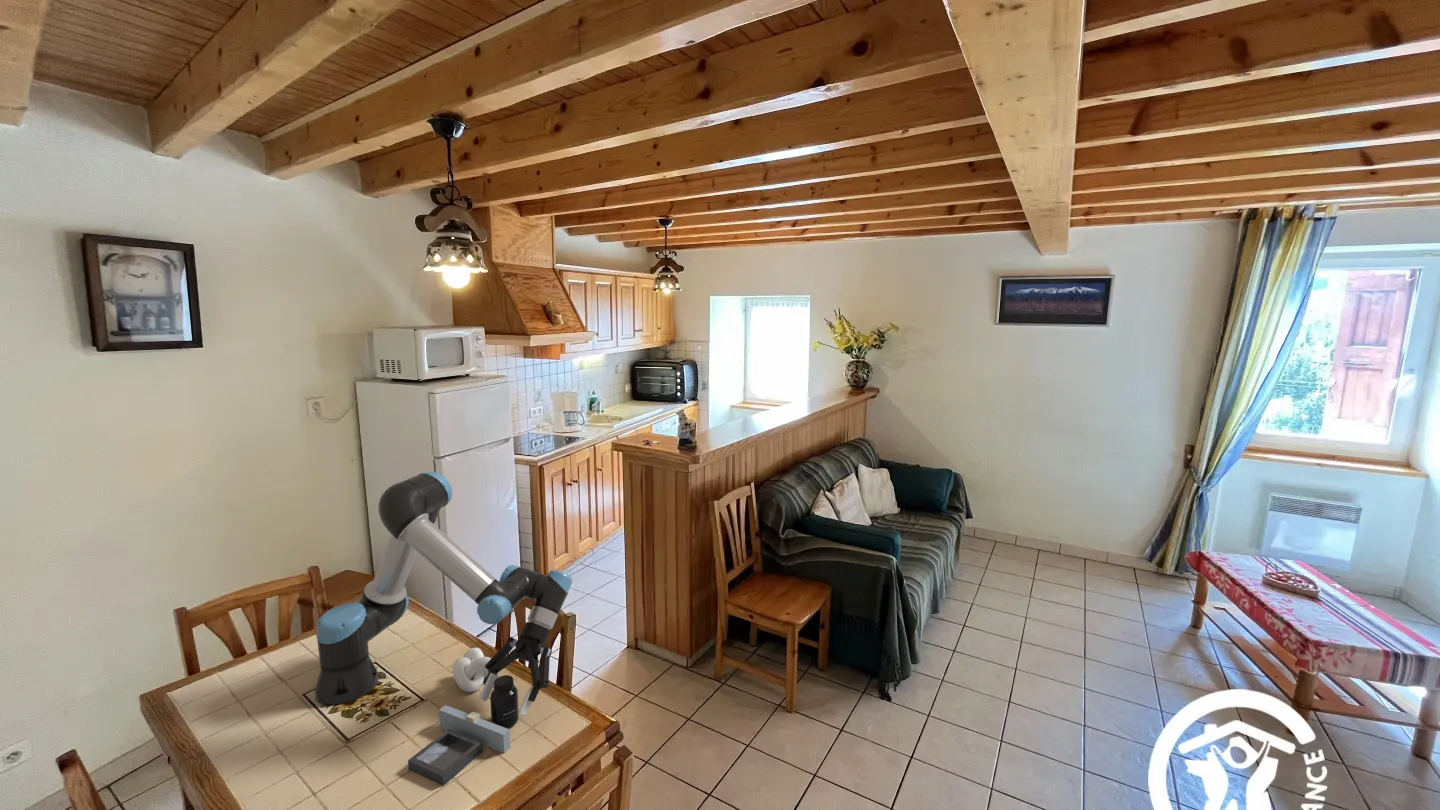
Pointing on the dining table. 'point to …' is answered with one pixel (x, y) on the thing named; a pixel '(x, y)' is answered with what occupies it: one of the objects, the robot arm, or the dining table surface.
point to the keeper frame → (445, 756)
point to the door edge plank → (475, 728)
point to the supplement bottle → (504, 702)
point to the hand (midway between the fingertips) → (501, 707)
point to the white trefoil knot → (471, 670)
